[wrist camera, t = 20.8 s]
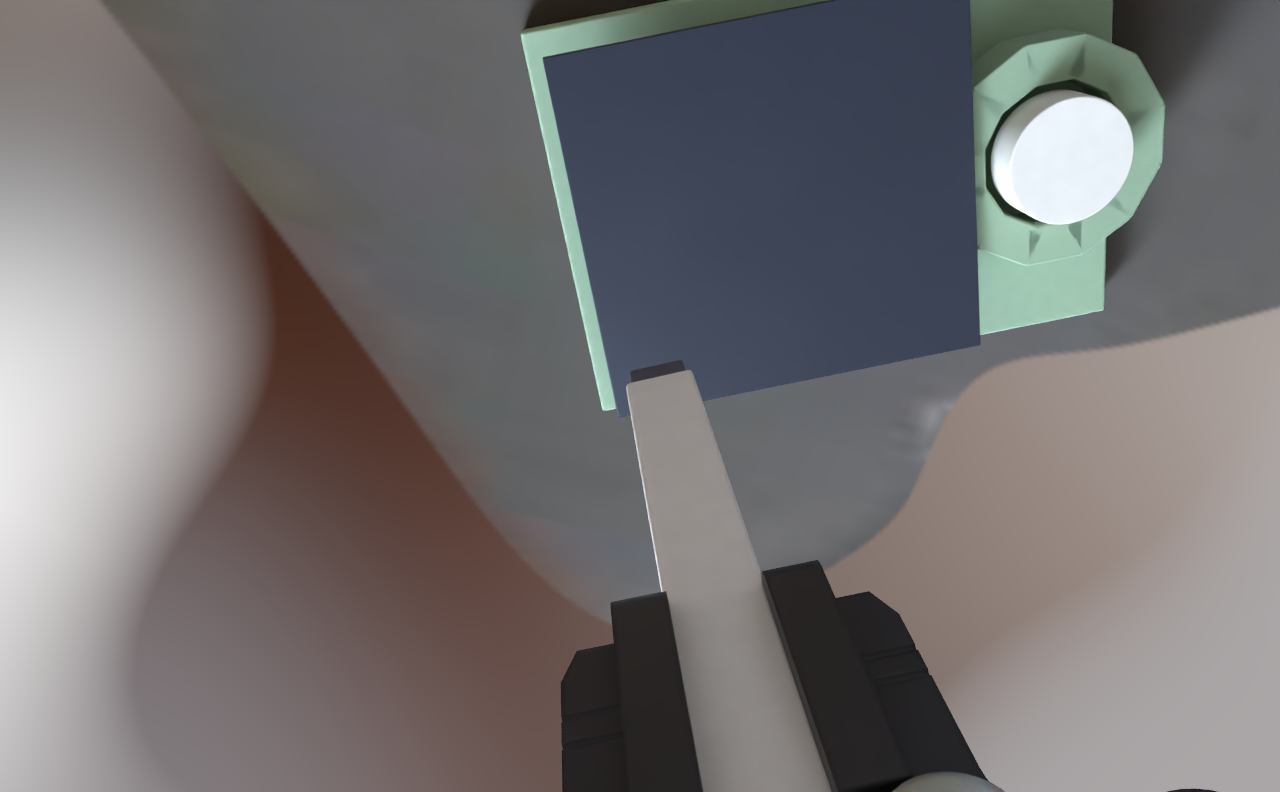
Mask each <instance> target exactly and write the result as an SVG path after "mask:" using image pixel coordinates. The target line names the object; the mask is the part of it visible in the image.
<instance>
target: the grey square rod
mask: <svg viewBox="0 0 1280 792" xmlns="http://www.w3.org/2000/svg"><path fill="white" fill-rule="evenodd" d="M629 376H630V382H631V383H629V384H627V386H626V390H627V396H628V402H629V407H630V413H631V419H632V425H633V430H634V436H635V442H636V448H637V453H638V459H639V465H640V471H641V476H642V482H643V488H644V494H645V499H646V505H647V511H648V517H649V522H650V528H651V534H652V540H653V545H654V551H655V557H656V563H657V568H658V574H659V580H660V586H661V591H662V592H664V591H666V592H667V597H668V601H669V606H670V611H671V617H672V622H673V628H674V633H675V639H676V644H677V650H678V655H679V661H680V666H681V672H682V677H683V683H684V688H685V694H686V699H687V705H688V710H689V715H690V721H691V726H692V732H693V737H694V743H695V748H696V754H697V759H698V765H699V770H700V776H701V781H702V787H703V792H832V791H831V788H830V785H829V782H828V779H827V776H826V773H825V770H824V767H823V764H822V761H821V758H820V755H819V752H818V749H817V746H816V743H815V740H814V737H813V734H812V731H811V728H810V725H809V722H808V719H807V716H806V713H805V710H804V707H803V704H802V701H801V698H800V696H799V693H798V690H797V687H796V684H795V681H794V678H793V675H792V672H791V669H790V666H789V663H788V660H787V657H786V654H785V651H784V648H783V645H782V642H781V639H780V636H779V633H778V630H777V627H776V624H775V621H774V618H773V615H772V612H771V609H770V606H769V603H768V600H767V597H766V594H765V591H764V588H763V585H762V577H761V571H760V568H759V565H758V562H757V559H756V556H755V553H754V550H753V548H752V545H751V542H750V539H749V536H748V533H747V530H746V527H745V524H744V521H743V518H742V515H741V512H740V509H739V507H738V504H737V501H736V498H735V495H734V492H733V489H732V486H731V483H730V480H729V477H728V474H727V471H726V468H725V466H724V463H723V460H722V457H721V454H720V451H719V448H718V445H717V442H716V439H715V436H714V433H713V430H712V427H711V425H710V422H709V419H708V416H707V413H706V410H705V407H704V404H703V401H702V398H701V395H700V392H699V389H698V386H697V384H696V381H695V378H694V375H693V372H692V371H691V370H686V369H685V366H684V363H683V362H682V360H677V361H673V362H669V363H664V364H660V365H655V366H651V367H646V368H642V369H637V370H633V371H631V372H630V374H629Z"/></svg>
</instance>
